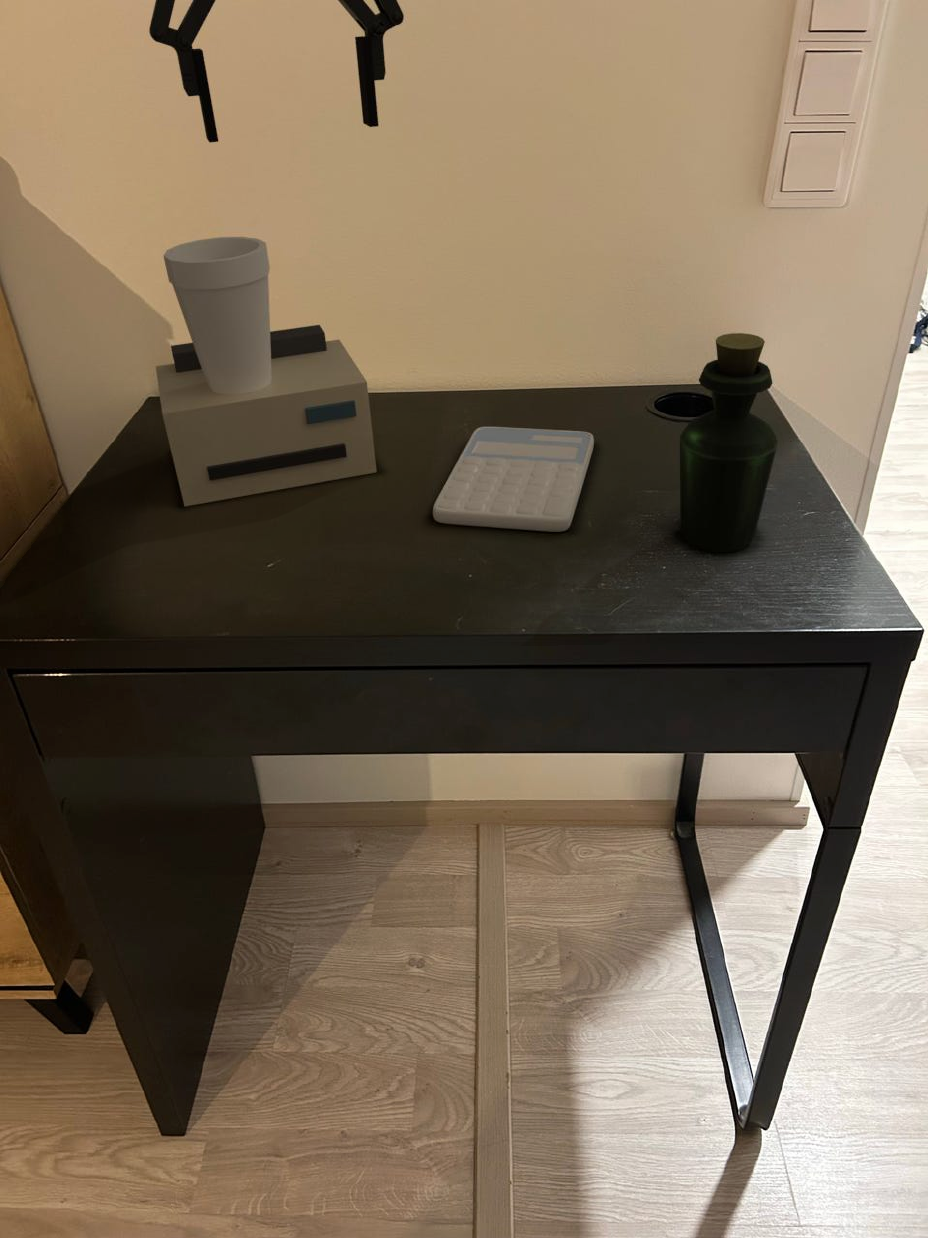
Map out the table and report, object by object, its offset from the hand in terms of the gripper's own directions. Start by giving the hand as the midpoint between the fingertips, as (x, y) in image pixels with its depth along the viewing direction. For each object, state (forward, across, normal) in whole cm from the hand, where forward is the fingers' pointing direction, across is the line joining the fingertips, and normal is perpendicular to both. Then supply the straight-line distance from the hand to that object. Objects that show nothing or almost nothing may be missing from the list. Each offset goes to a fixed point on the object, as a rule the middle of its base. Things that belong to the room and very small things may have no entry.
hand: (293, 132), depth 81 cm
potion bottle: (+33, -30, +25) cm, 51 cm away
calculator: (+33, -17, +8) cm, 38 cm away
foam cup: (+23, +8, -5) cm, 25 cm away
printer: (+33, +6, -7) cm, 34 cm away
